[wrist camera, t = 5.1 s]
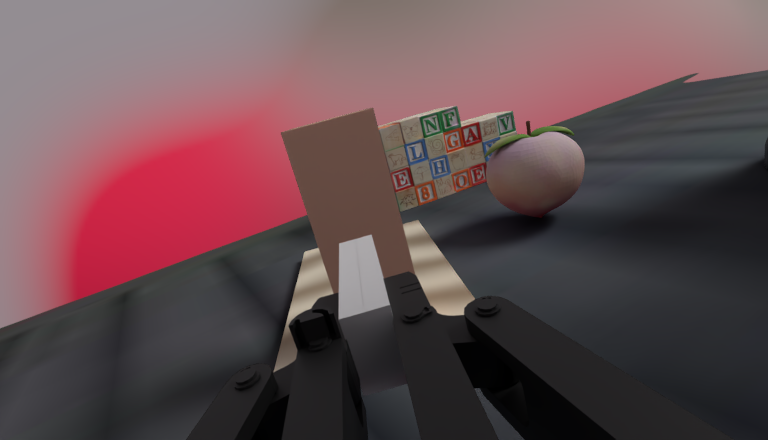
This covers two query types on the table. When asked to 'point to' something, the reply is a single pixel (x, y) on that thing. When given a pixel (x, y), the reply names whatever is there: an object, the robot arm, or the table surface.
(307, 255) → the board
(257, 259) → the table surface
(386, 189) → the block
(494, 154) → the decorative fruit
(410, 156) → the stack of blocks
